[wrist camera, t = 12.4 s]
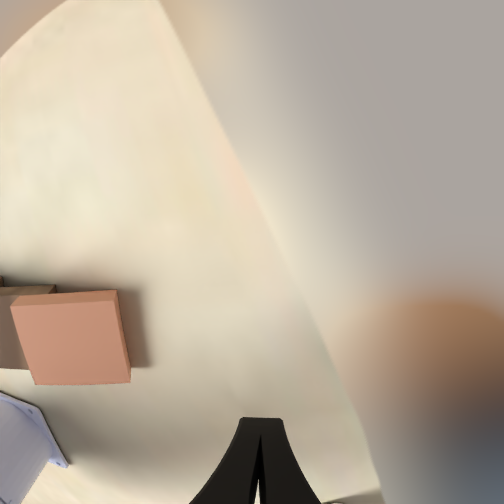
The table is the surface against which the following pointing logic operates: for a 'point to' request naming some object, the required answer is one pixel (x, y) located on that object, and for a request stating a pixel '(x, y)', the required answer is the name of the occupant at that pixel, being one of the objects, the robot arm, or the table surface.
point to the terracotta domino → (73, 338)
